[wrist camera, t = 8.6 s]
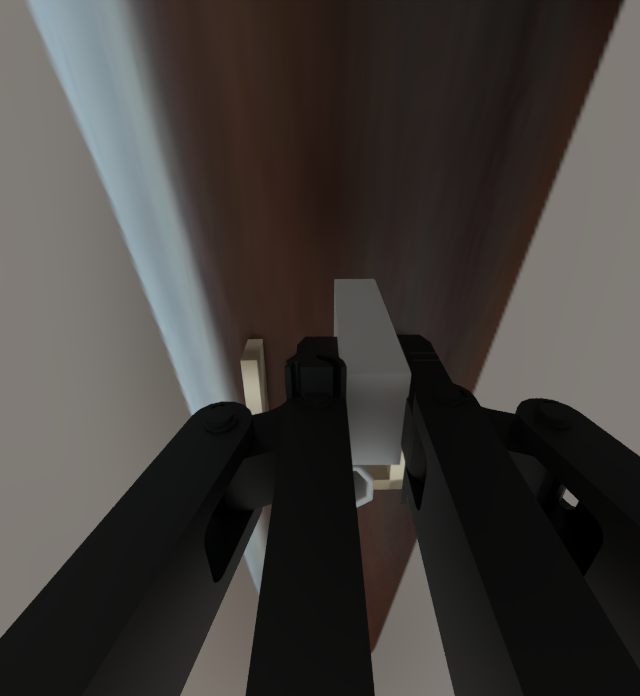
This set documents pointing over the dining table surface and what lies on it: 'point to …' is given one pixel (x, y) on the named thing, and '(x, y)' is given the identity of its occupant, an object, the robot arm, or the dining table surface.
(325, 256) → the dining table surface
